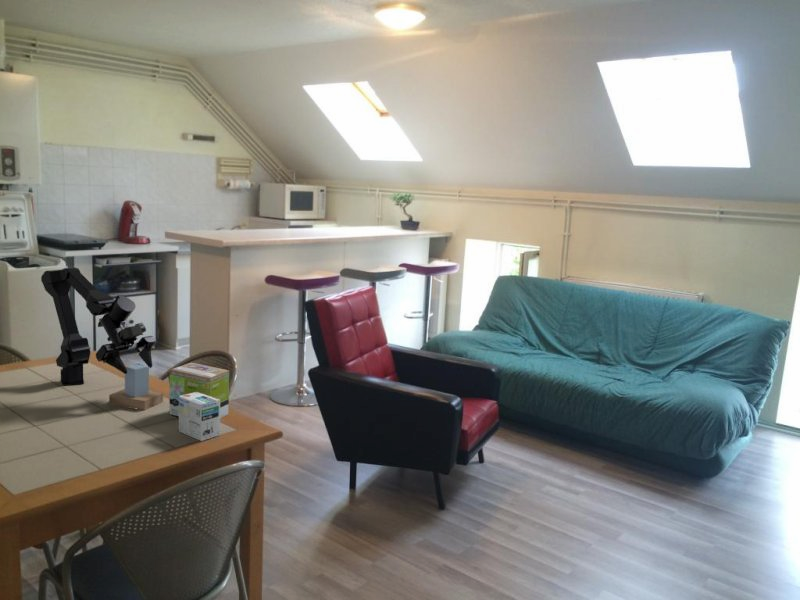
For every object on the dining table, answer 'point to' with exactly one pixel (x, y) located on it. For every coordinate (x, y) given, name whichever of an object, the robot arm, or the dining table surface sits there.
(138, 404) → the stack block
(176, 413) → the tea box
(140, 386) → the pillar block
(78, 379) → the robot arm
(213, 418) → the light bulb box
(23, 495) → the dining table surface
